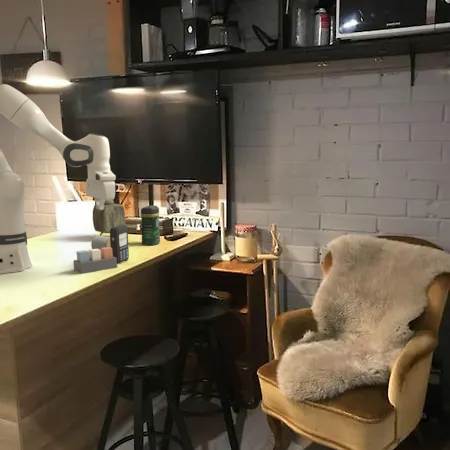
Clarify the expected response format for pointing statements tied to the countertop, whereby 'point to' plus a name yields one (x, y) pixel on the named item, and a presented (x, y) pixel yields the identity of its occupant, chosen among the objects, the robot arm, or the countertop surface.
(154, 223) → the coffee jar
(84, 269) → the grey rectangular tray
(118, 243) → the card reader
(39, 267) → the countertop surface
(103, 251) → the key rust
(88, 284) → the countertop surface
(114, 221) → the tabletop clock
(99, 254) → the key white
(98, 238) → the ceramic mug
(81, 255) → the key blue
